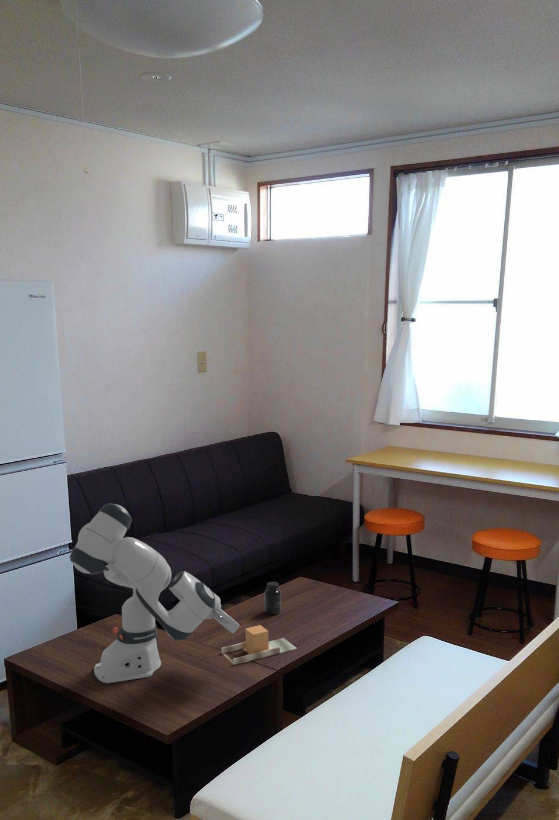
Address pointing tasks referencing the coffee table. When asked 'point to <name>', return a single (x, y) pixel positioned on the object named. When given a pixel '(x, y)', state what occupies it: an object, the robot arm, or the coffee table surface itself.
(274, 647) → the chute
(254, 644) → the orange block
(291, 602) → the coffee table surface
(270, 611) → the supplement bottle
